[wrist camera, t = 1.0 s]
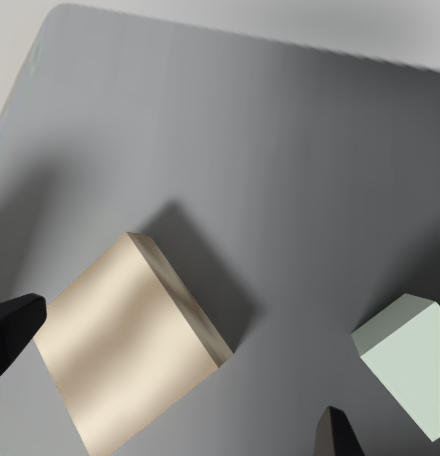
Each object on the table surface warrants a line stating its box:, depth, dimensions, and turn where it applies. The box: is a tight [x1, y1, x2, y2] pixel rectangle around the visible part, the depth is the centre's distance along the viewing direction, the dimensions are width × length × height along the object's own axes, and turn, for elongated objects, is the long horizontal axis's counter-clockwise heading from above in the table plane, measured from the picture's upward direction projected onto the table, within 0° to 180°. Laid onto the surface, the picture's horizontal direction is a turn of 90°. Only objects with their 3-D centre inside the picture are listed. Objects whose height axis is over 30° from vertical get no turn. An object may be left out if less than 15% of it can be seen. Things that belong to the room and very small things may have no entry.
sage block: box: [351, 293, 440, 442], centre depth 17 cm, size 4×4×6 cm
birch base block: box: [33, 232, 233, 456], centre depth 25 cm, size 12×12×4 cm
